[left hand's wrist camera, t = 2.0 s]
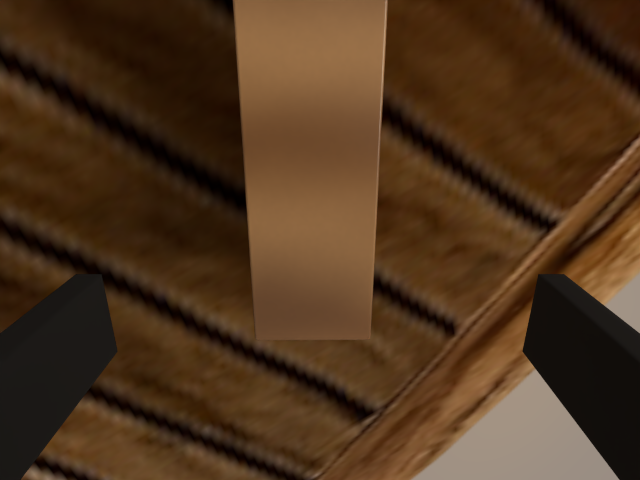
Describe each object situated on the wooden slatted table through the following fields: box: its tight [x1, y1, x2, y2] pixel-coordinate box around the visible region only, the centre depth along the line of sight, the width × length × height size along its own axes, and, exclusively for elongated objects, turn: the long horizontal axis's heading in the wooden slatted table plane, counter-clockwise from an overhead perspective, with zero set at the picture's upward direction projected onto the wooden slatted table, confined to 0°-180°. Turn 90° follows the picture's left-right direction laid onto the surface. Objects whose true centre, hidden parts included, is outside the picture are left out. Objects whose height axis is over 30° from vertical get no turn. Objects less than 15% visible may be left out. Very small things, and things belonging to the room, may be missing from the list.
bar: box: [233, 0, 388, 340], centre depth 17 cm, size 25×5×8 cm, turn 0°
